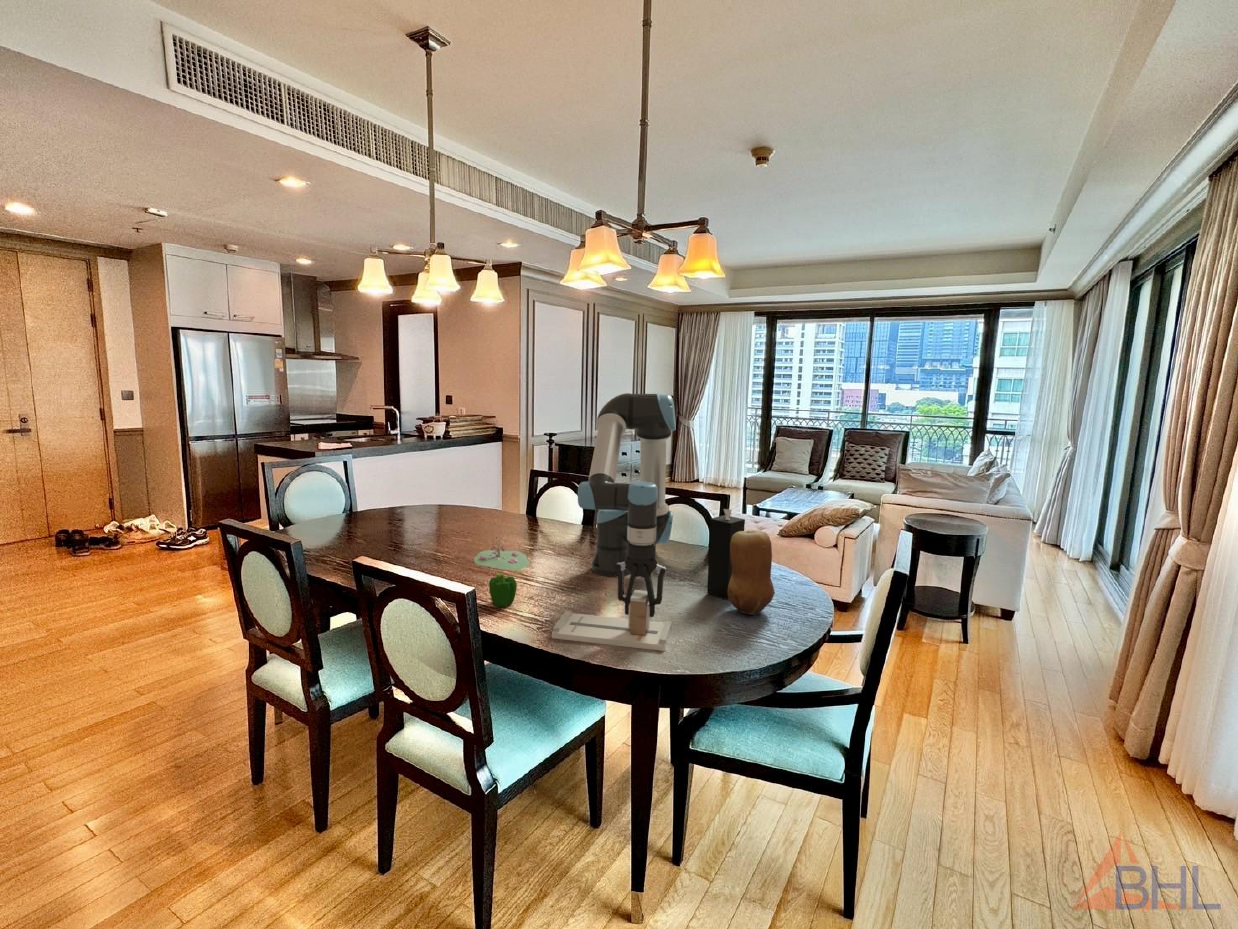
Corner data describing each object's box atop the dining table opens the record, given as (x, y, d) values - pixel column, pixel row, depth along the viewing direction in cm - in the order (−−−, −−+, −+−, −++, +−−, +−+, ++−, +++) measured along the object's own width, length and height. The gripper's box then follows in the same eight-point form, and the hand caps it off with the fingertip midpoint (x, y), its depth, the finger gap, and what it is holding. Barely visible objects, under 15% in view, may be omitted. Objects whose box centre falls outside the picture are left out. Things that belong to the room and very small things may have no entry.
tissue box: (721, 588, 196) (725, 505, 192) (741, 594, 191) (745, 509, 187) (706, 593, 191) (710, 508, 187) (727, 600, 185) (731, 512, 181)
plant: (548, 563, 221) (548, 539, 219) (503, 576, 206) (502, 551, 204) (506, 549, 237) (506, 527, 236) (461, 560, 222) (461, 537, 221)
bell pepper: (504, 596, 185) (504, 565, 184) (522, 603, 180) (521, 571, 178) (482, 604, 179) (482, 572, 177) (500, 611, 173) (499, 578, 172)
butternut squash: (732, 601, 185) (735, 523, 181) (776, 608, 180) (780, 528, 176) (721, 617, 172) (725, 533, 168) (769, 625, 167) (774, 539, 163)
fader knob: (634, 624, 162) (634, 589, 160) (648, 626, 161) (649, 591, 159) (629, 633, 156) (630, 597, 154) (644, 635, 155) (645, 599, 154)
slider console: (567, 617, 170) (567, 609, 169) (671, 628, 164) (672, 620, 163) (551, 638, 156) (551, 629, 156) (664, 651, 150) (665, 641, 150)
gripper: (606, 543, 153) (604, 629, 156) (672, 548, 149) (669, 636, 153) (612, 535, 160) (611, 618, 164) (676, 540, 157) (673, 624, 160)
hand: (639, 626), depth 158 cm, fingers closed on fader knob, 4 cm apart
